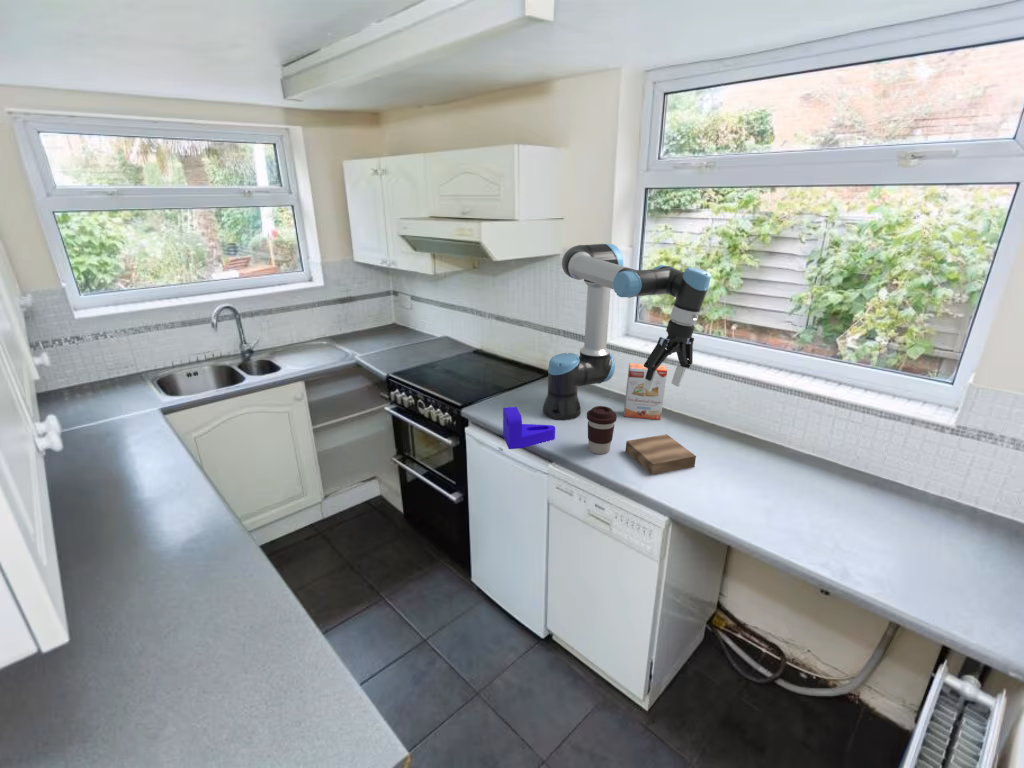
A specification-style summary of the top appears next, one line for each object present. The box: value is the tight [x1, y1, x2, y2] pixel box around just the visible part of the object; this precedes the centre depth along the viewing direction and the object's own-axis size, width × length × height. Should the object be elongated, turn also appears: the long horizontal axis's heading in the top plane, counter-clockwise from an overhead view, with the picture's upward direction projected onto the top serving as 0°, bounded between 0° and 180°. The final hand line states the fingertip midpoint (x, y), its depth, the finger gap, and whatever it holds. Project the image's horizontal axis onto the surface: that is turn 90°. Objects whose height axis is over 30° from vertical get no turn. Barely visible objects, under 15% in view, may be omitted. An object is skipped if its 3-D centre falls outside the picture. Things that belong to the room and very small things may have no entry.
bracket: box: [502, 406, 556, 450], centre depth 178 cm, size 18×11×12 cm, turn 101°
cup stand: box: [625, 433, 697, 476], centre depth 167 cm, size 16×16×4 cm
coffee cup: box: [586, 405, 618, 455], centre depth 171 cm, size 10×10×15 cm
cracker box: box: [623, 362, 668, 421], centre depth 195 cm, size 14×6×21 cm, turn 80°
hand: (661, 387), depth 156 cm, fingers open, 13 cm apart
